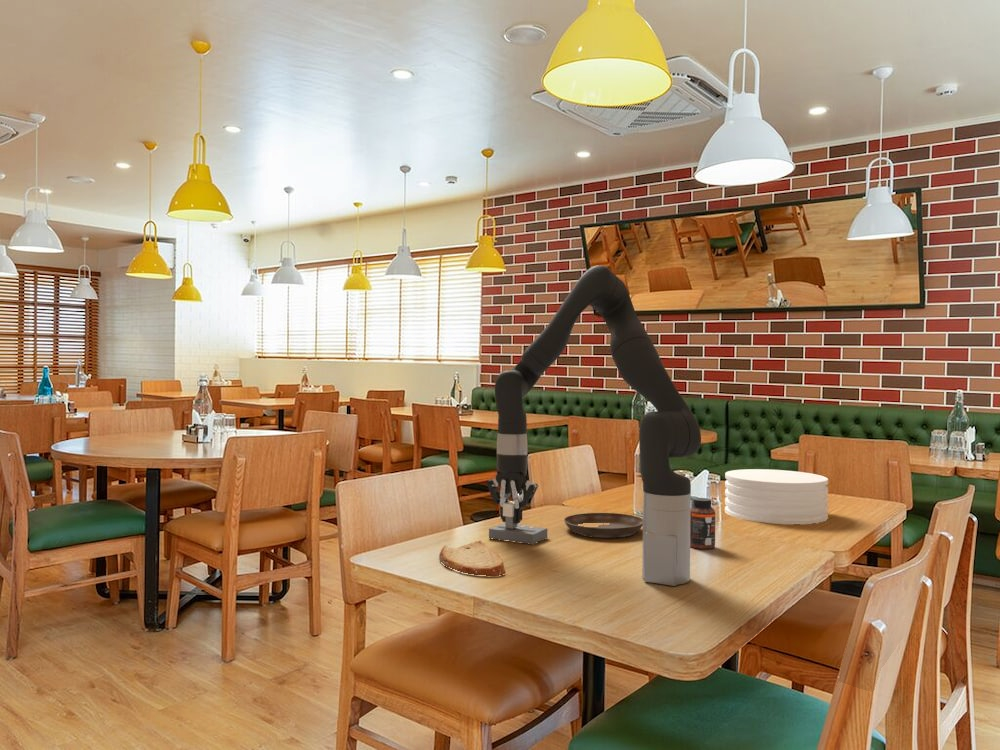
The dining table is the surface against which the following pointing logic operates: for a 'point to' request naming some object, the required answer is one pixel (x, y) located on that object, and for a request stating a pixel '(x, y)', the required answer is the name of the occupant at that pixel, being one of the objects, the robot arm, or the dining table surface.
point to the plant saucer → (617, 528)
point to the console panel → (518, 533)
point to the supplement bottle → (702, 524)
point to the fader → (509, 514)
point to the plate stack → (776, 496)
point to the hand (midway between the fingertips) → (511, 522)
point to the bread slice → (473, 559)
